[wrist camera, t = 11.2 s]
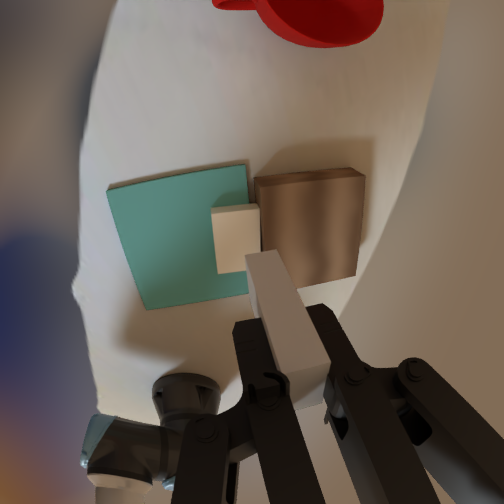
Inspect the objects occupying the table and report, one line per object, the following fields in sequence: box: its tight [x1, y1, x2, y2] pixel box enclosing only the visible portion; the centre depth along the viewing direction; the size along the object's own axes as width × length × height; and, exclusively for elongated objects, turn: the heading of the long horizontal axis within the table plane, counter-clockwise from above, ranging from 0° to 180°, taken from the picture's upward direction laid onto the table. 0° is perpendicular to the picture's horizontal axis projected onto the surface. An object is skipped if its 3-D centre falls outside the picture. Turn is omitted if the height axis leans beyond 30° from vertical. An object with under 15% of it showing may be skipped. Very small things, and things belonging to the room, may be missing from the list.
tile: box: [211, 203, 261, 274], centre depth 39 cm, size 6×9×2 cm, turn 2°
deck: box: [254, 168, 366, 289], centre depth 40 cm, size 14×16×4 cm
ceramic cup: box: [212, 0, 384, 48], centre depth 21 cm, size 13×17×10 cm
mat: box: [106, 164, 249, 310], centre depth 39 cm, size 18×20×1 cm
